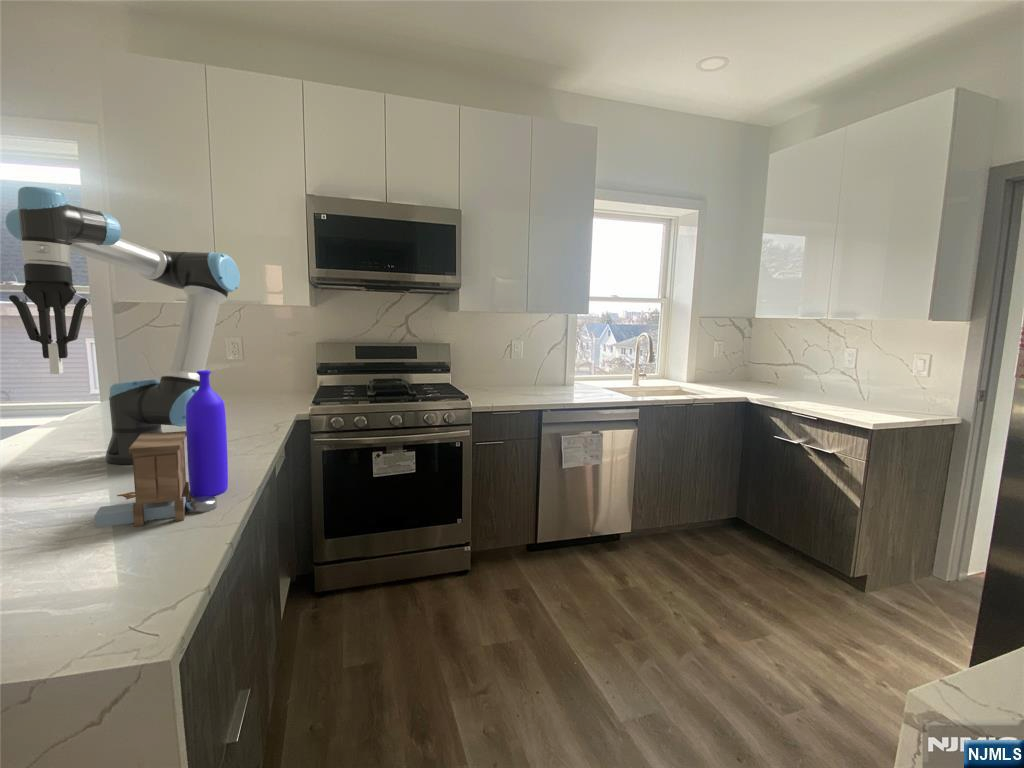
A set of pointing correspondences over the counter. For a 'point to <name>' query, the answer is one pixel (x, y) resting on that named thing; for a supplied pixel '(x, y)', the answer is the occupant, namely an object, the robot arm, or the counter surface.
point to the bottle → (206, 441)
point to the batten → (125, 513)
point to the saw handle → (128, 495)
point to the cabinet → (159, 472)
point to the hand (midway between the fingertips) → (56, 373)
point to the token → (201, 504)
